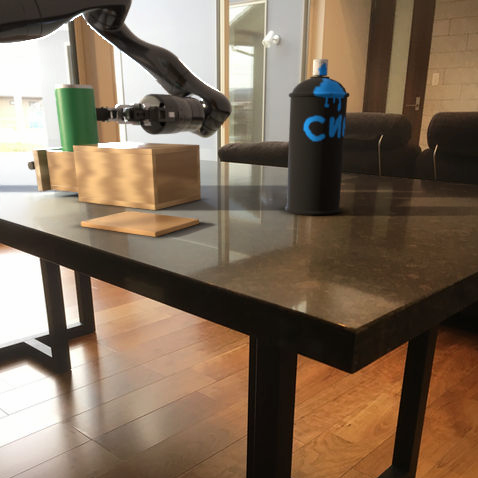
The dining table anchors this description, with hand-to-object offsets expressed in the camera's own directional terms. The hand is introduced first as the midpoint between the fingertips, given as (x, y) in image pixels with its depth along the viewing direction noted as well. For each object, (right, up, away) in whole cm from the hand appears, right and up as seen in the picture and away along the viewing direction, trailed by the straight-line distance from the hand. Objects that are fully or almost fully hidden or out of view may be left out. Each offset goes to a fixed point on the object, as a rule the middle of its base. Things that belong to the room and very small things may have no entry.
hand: (109, 114), depth 92 cm
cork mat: (+10, -24, -26) cm, 37 cm away
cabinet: (+7, -17, -7) cm, 20 cm away
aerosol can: (+34, -21, -16) cm, 43 cm away
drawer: (-4, -14, -2) cm, 14 cm away
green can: (-4, -13, -2) cm, 14 cm away
